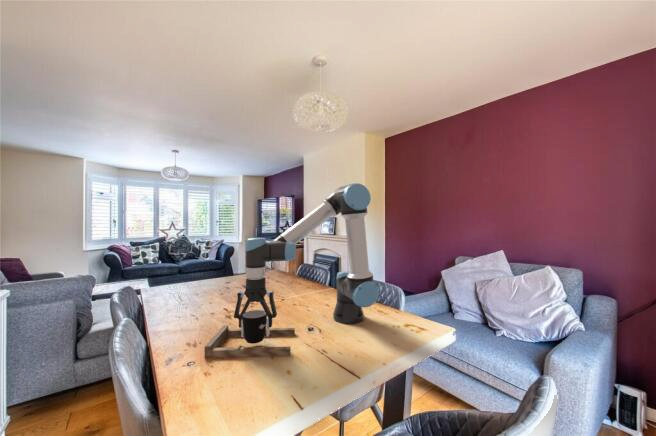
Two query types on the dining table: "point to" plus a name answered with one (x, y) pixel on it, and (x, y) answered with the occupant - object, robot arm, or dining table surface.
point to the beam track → (243, 351)
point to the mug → (254, 326)
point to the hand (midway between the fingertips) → (255, 335)
